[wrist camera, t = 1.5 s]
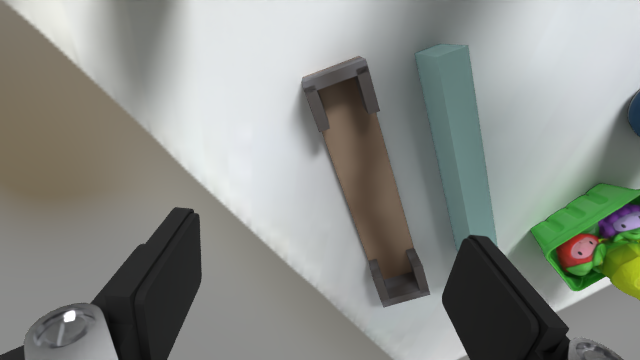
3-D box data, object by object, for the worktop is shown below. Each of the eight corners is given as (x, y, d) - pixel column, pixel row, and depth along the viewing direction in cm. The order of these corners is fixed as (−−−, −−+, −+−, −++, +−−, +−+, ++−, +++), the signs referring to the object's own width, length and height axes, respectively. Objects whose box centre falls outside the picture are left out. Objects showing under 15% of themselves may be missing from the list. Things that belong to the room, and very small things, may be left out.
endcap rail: (358, 56, 30) (365, 59, 26) (419, 271, 40) (430, 294, 37) (302, 77, 30) (301, 82, 27) (377, 283, 41) (383, 307, 37)
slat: (413, 53, 30) (436, 56, 24) (438, 43, 30) (468, 45, 24) (455, 249, 39) (479, 283, 34) (475, 243, 39) (502, 277, 34)
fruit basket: (606, 167, 35) (729, 221, 25) (636, 216, 38) (758, 284, 27) (514, 228, 38) (590, 299, 28) (548, 270, 41) (628, 348, 31)
